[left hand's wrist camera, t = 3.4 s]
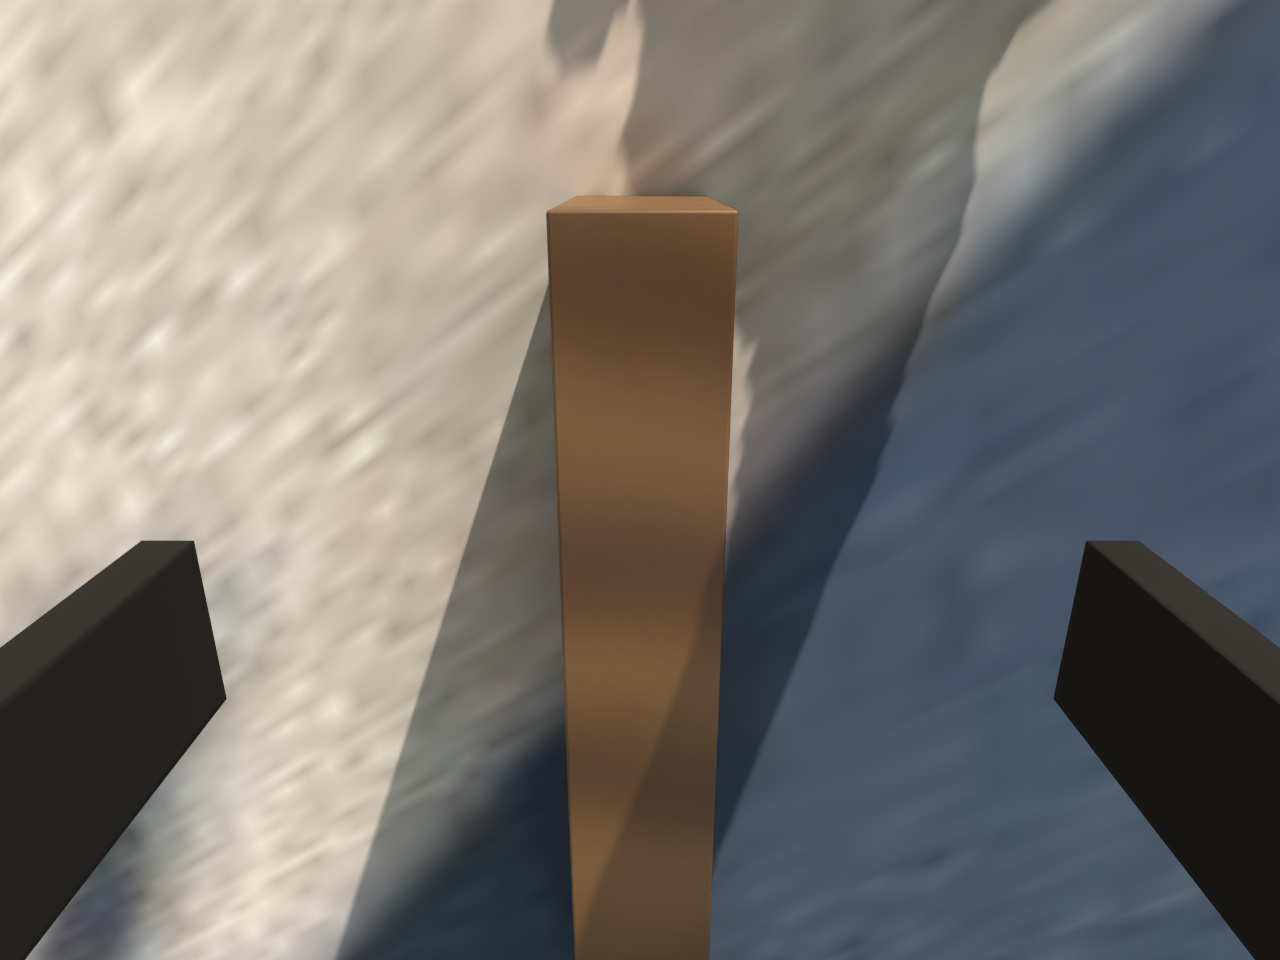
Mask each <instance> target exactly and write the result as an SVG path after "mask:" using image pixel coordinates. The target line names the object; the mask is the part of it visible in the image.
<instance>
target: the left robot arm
mask: <svg viewBox="0 0 1280 960" xmlns="http://www.w3.org/2000/svg"><path fill="white" fill-rule="evenodd" d="M225 700H226V694H225V689H224V684H223V680H222V675H221V670H220V665H219V660H218V655H217V651H216V646H215V641H214V636H213V631H212V626H211V622H210V617H209V612H208V607H207V602H206V597H205V593H204V588H203V583H202V578H201V573H200V568H199V564H198V559H197V554H196V549H195V544H194V541H141V542H139V543H138V544H137V545H135V546H134V547H133V548H132V549H130V550H129V551H128V552H126V553H125V554H124V555H122V556H121V557H120V558H118V559H117V560H116V561H114V562H113V563H112V564H110V565H109V566H108V567H106V568H105V569H104V570H102V571H101V572H100V573H98V574H97V575H96V576H95V577H93V578H92V579H91V580H89V581H88V582H87V583H85V584H84V585H83V586H81V587H80V588H79V589H77V590H76V591H75V592H73V593H72V594H71V595H69V596H68V597H67V598H65V599H64V600H63V601H61V602H60V603H59V604H57V605H56V606H55V607H54V608H52V609H51V610H50V611H48V612H47V613H46V614H44V615H43V616H42V617H40V618H39V619H38V620H36V621H35V622H34V623H32V624H31V625H30V626H28V627H27V628H26V629H24V630H23V631H22V632H20V633H19V634H18V635H17V636H15V637H14V638H13V639H11V640H10V641H9V642H7V643H6V644H5V645H3V646H2V647H1V648H0V960H25V959H26V958H27V956H28V955H29V954H30V952H31V951H32V950H33V949H34V947H35V946H36V945H37V943H38V942H39V941H40V940H41V938H42V937H43V936H44V934H45V933H46V932H47V930H48V929H49V928H50V927H51V925H52V924H53V923H54V921H55V920H56V919H57V918H58V916H59V915H60V914H61V912H62V911H63V910H64V908H65V907H66V906H67V905H68V903H69V902H70V901H71V899H72V898H73V897H74V896H75V894H76V893H77V892H78V890H79V889H80V888H81V886H82V885H83V884H84V883H85V881H86V880H87V879H88V877H89V876H90V875H91V874H92V872H93V871H94V870H95V868H96V867H97V866H98V864H99V863H100V862H101V861H102V859H103V858H104V857H105V855H106V854H107V853H108V852H109V850H110V849H111V848H112V846H113V845H114V844H115V842H116V841H117V840H118V839H119V837H120V836H121V835H122V833H123V832H124V831H125V830H126V828H127V827H128V826H129V824H130V823H131V822H132V820H133V819H134V818H135V817H136V815H137V814H138V813H139V811H140V810H141V809H142V808H143V806H144V805H145V804H146V802H147V801H148V800H149V798H150V797H151V796H152V795H153V793H154V792H155V791H156V789H157V788H158V787H159V786H160V784H161V783H162V782H163V780H164V779H165V778H166V776H167V775H168V774H169V773H170V771H171V770H172V769H173V767H174V766H175V765H176V764H177V762H178V761H179V760H180V758H181V757H182V756H183V754H184V753H185V752H186V751H187V749H188V748H189V747H190V745H191V744H192V743H193V742H194V740H195V739H196V738H197V736H198V735H199V734H200V732H201V731H202V730H203V729H204V727H205V726H206V725H207V723H208V722H209V721H210V720H211V718H212V717H213V716H214V714H215V713H216V712H217V710H218V709H219V708H220V707H221V705H222V704H223V703H224V701H225ZM1054 700H1055V701H1056V703H1057V704H1058V705H1059V707H1060V708H1061V709H1062V710H1063V712H1064V713H1065V714H1066V716H1067V717H1068V718H1069V720H1070V721H1071V722H1072V723H1073V725H1074V726H1075V727H1076V729H1077V730H1078V731H1079V732H1080V734H1081V735H1082V736H1083V738H1084V739H1085V740H1086V742H1087V743H1088V744H1089V745H1090V747H1091V748H1092V749H1093V751H1094V752H1095V753H1096V754H1097V756H1098V757H1099V758H1100V760H1101V761H1102V762H1103V764H1104V765H1105V766H1106V767H1107V769H1108V770H1109V771H1110V773H1111V774H1112V775H1113V776H1114V778H1115V779H1116V780H1117V782H1118V783H1119V784H1120V786H1121V787H1122V788H1123V789H1124V791H1125V792H1126V793H1127V795H1128V796H1129V797H1130V798H1131V800H1132V801H1133V802H1134V804H1135V805H1136V806H1137V808H1138V809H1139V810H1140V811H1141V813H1142V814H1143V815H1144V817H1145V818H1146V819H1147V820H1148V822H1149V823H1150V824H1151V826H1152V827H1153V828H1154V830H1155V831H1156V832H1157V833H1158V835H1159V836H1160V837H1161V839H1162V840H1163V841H1164V842H1165V844H1166V845H1167V846H1168V848H1169V849H1170V850H1171V852H1172V853H1173V854H1174V855H1175V857H1176V858H1177V859H1178V861H1179V862H1180V863H1181V864H1182V866H1183V867H1184V868H1185V870H1186V871H1187V872H1188V874H1189V875H1190V876H1191V877H1192V879H1193V880H1194V881H1195V883H1196V884H1197V885H1198V886H1199V888H1200V889H1201V890H1202V892H1203V893H1204V894H1205V896H1206V897H1207V898H1208V899H1209V901H1210V902H1211V903H1212V905H1213V906H1214V907H1215V908H1216V910H1217V911H1218V912H1219V914H1220V915H1221V916H1222V918H1223V919H1224V920H1225V921H1226V923H1227V924H1228V925H1229V927H1230V928H1231V929H1232V930H1233V932H1234V933H1235V934H1236V936H1237V937H1238V938H1239V940H1240V941H1241V942H1242V943H1243V945H1244V946H1245V947H1246V949H1247V950H1248V951H1249V952H1250V954H1251V955H1252V956H1253V958H1254V959H1255V960H1280V648H1279V647H1278V646H1277V645H1275V644H1274V643H1273V642H1271V641H1270V640H1269V639H1267V638H1266V637H1265V636H1263V635H1262V634H1261V633H1260V632H1258V631H1257V630H1256V629H1254V628H1253V627H1252V626H1250V625H1249V624H1248V623H1246V622H1245V621H1244V620H1242V619H1241V618H1240V617H1238V616H1237V615H1236V614H1234V613H1233V612H1232V611H1230V610H1229V609H1228V608H1226V607H1225V606H1224V605H1223V604H1221V603H1220V602H1219V601H1217V600H1216V599H1215V598H1213V597H1212V596H1211V595H1209V594H1208V593H1207V592H1205V591H1204V590H1203V589H1201V588H1200V587H1199V586H1197V585H1196V584H1195V583H1193V582H1192V581H1191V580H1189V579H1188V578H1187V577H1185V576H1184V575H1183V574H1182V573H1180V572H1179V571H1178V570H1176V569H1175V568H1174V567H1172V566H1171V565H1170V564H1168V563H1167V562H1166V561H1164V560H1163V559H1162V558H1160V557H1159V556H1158V555H1156V554H1155V553H1154V552H1152V551H1151V550H1150V549H1148V548H1147V547H1146V546H1145V545H1143V544H1142V543H1141V542H1139V541H1086V544H1085V549H1084V554H1083V559H1082V564H1081V568H1080V573H1079V578H1078V583H1077V588H1076V593H1075V597H1074V602H1073V607H1072V612H1071V617H1070V622H1069V626H1068V631H1067V636H1066V641H1065V646H1064V651H1063V655H1062V660H1061V665H1060V670H1059V675H1058V680H1057V684H1056V689H1055V694H1054Z"/></svg>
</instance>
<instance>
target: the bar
mask: <svg viewBox="0 0 1280 960" xmlns="http://www.w3.org/2000/svg"><path fill="white" fill-rule="evenodd" d="M546 218H547V245H548V271H549V298H550V324H551V351H552V378H553V404H554V431H555V457H556V484H557V510H558V537H559V564H560V590H561V617H562V643H563V670H564V696H565V723H566V750H567V776H568V803H569V829H570V856H571V882H572V909H573V936H574V960H709V944H710V918H711V893H712V868H713V843H714V817H715V792H716V767H717V742H718V716H719V691H720V666H721V641H722V616H723V590H724V565H725V540H726V515H727V489H728V464H729V439H730V414H731V388H732V363H733V338H734V313H735V287H736V262H737V237H738V211H736V210H734V209H732V208H730V207H728V206H726V205H724V204H722V203H720V202H718V201H716V200H713V199H711V198H709V197H707V196H576V197H574V198H572V199H570V200H568V201H566V202H564V203H562V204H560V205H558V206H556V207H554V208H552V209H550V210H549V211H547V214H546Z"/></svg>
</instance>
